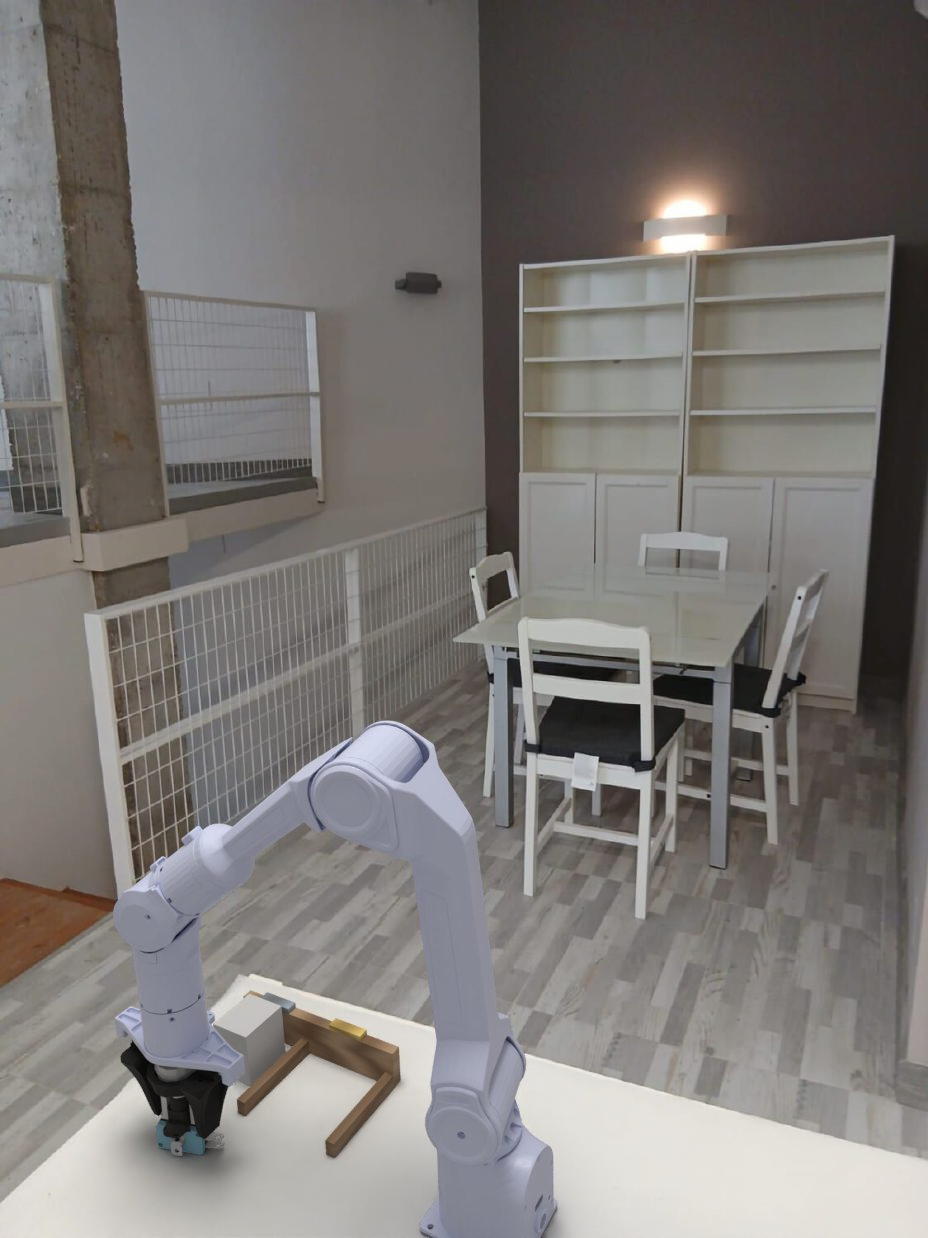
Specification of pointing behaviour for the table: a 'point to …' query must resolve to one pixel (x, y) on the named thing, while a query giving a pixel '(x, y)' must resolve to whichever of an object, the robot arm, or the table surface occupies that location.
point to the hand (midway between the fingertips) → (186, 1119)
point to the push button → (177, 1113)
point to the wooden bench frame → (338, 1047)
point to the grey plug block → (254, 1034)
